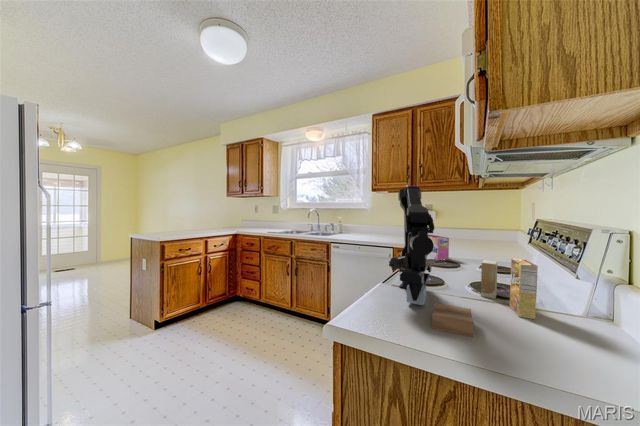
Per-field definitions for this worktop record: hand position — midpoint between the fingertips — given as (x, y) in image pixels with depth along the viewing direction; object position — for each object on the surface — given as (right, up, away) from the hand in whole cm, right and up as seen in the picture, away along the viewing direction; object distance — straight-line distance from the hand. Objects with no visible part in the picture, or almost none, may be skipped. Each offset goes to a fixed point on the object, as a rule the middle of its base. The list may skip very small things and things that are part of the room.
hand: (416, 297), depth 81 cm
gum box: (+40, -1, +79) cm, 88 cm away
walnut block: (+4, -3, -14) cm, 15 cm away
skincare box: (+29, -2, +9) cm, 31 cm away
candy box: (+30, -3, -6) cm, 30 cm away
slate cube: (0, -1, 0) cm, 1 cm away
